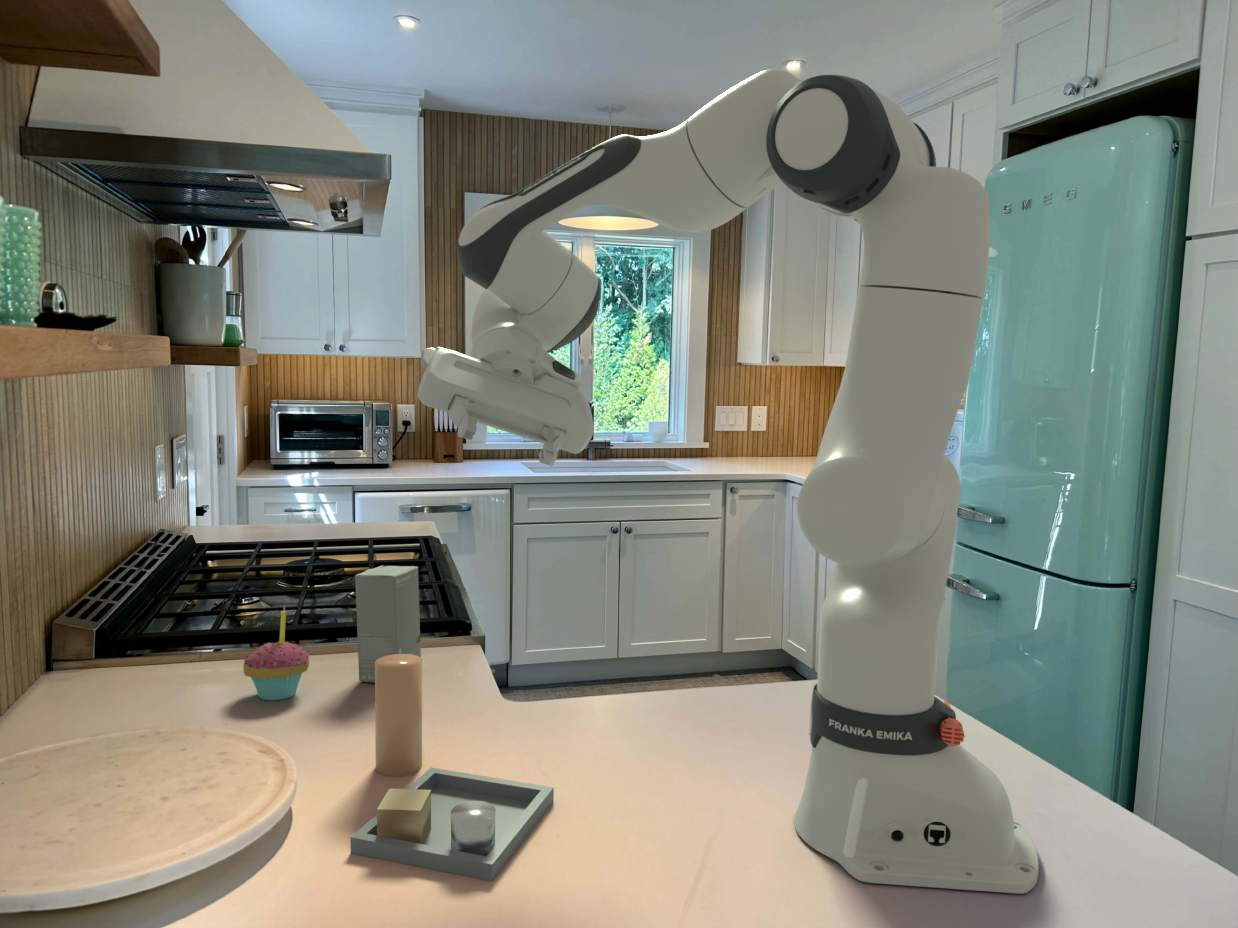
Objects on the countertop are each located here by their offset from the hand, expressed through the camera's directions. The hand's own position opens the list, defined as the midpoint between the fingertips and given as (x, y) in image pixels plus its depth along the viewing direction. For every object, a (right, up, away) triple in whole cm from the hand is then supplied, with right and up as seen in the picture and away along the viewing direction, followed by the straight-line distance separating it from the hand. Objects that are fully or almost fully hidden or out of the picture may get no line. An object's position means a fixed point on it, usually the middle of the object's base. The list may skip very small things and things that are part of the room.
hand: (508, 447), depth 95 cm
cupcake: (-35, -34, +26) cm, 55 cm away
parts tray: (-4, -38, -9) cm, 39 cm away
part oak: (-8, -37, -12) cm, 40 cm away
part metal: (-1, -37, -14) cm, 40 cm away
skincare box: (-22, -33, +35) cm, 53 cm away
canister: (-13, -36, +3) cm, 39 cm away
